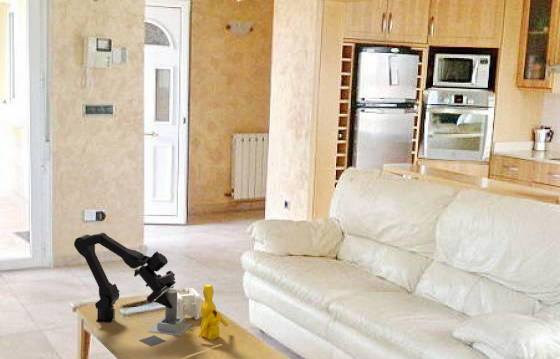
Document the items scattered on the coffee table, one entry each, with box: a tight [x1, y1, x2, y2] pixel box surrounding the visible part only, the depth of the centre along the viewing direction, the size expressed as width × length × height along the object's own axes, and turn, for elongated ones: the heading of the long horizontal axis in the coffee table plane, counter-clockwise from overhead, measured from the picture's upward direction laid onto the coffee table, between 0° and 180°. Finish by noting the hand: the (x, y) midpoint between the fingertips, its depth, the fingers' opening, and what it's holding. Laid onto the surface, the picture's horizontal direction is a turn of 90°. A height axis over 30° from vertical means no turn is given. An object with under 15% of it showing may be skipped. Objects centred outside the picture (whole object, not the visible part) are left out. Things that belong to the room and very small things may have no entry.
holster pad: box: [138, 335, 167, 347], centre depth 276 cm, size 8×8×1 cm
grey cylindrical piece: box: [164, 287, 178, 321], centre depth 289 cm, size 5×5×13 cm
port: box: [148, 316, 193, 337], centre depth 290 cm, size 14×14×4 cm
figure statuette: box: [198, 284, 229, 340], centre depth 283 cm, size 18×8×22 cm, turn 142°
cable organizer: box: [177, 287, 201, 321], centre depth 304 cm, size 15×11×12 cm
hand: (174, 306), depth 289 cm, fingers closed on grey cylindrical piece, 5 cm apart
